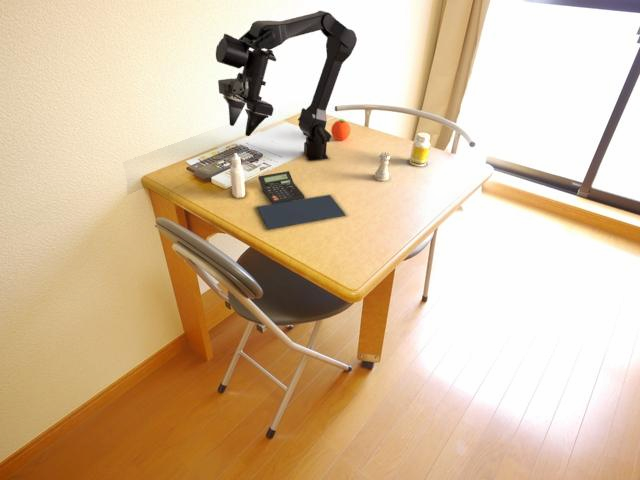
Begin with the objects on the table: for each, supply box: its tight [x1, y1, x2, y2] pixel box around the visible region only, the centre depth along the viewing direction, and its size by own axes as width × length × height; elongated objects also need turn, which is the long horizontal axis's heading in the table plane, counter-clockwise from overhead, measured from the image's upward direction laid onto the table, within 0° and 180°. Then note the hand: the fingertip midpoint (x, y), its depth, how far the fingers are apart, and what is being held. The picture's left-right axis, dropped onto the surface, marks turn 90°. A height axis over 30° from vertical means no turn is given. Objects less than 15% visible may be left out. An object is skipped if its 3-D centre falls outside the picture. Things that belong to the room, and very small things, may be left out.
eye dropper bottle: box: [229, 152, 246, 199], centre depth 110 cm, size 4×6×12 cm
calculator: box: [257, 170, 305, 204], centre depth 114 cm, size 9×12×3 cm
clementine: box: [330, 119, 351, 141], centre depth 145 cm, size 8×7×7 cm
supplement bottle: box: [409, 132, 431, 167], centre depth 132 cm, size 5×5×10 cm
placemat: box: [256, 194, 346, 230], centre depth 107 cm, size 21×10×1 cm, turn 112°
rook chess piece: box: [374, 152, 391, 182], centre depth 122 cm, size 4×4×8 cm
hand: (239, 130), depth 113 cm, fingers open, 9 cm apart
